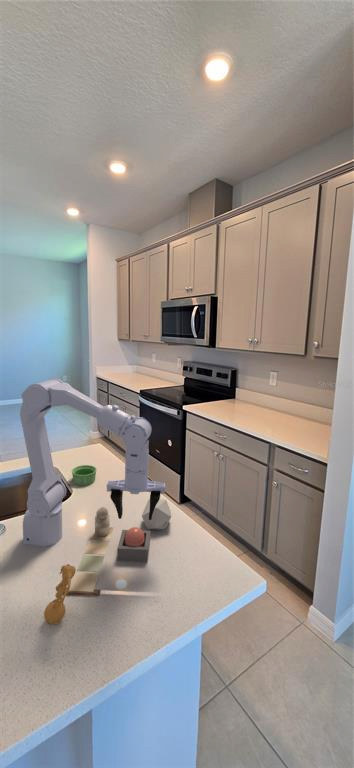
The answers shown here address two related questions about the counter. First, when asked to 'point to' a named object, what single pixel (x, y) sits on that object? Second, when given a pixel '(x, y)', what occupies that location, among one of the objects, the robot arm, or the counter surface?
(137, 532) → the popper dome
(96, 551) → the board
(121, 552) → the frame
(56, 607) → the figurine
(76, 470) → the ramekin
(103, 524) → the pawn
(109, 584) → the counter surface
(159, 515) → the die
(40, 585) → the counter surface
